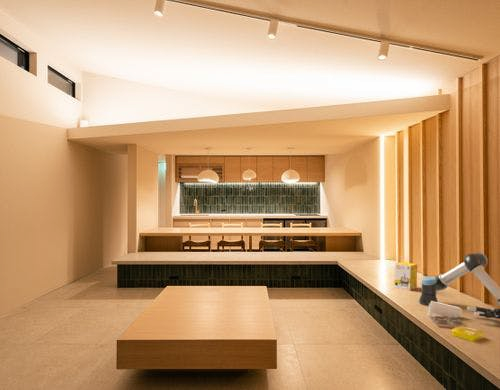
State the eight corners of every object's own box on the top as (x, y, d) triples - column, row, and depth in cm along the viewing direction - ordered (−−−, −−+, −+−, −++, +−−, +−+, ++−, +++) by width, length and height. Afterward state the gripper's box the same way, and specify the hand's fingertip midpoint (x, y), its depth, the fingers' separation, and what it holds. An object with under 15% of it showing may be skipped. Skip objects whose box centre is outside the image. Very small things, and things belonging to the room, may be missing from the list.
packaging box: (394, 287, 375) (395, 263, 375) (401, 285, 386) (402, 261, 386) (409, 290, 363) (410, 265, 363) (416, 288, 374) (417, 264, 374)
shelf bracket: (425, 315, 284) (429, 300, 285) (455, 322, 285) (459, 307, 285) (429, 317, 279) (433, 302, 279) (459, 325, 280) (463, 309, 280)
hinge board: (430, 318, 277) (430, 313, 277) (459, 321, 273) (459, 315, 273) (439, 327, 257) (439, 321, 257) (469, 330, 253) (469, 324, 254)
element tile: (484, 338, 240) (485, 331, 240) (474, 343, 231) (474, 335, 231) (461, 331, 252) (461, 324, 252) (450, 335, 244) (450, 328, 244)
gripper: (509, 324, 262) (477, 321, 266) (493, 313, 287) (464, 311, 291) (509, 314, 262) (477, 311, 266) (493, 304, 287) (464, 301, 291)
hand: (470, 311), depth 278 cm, fingers open, 13 cm apart
